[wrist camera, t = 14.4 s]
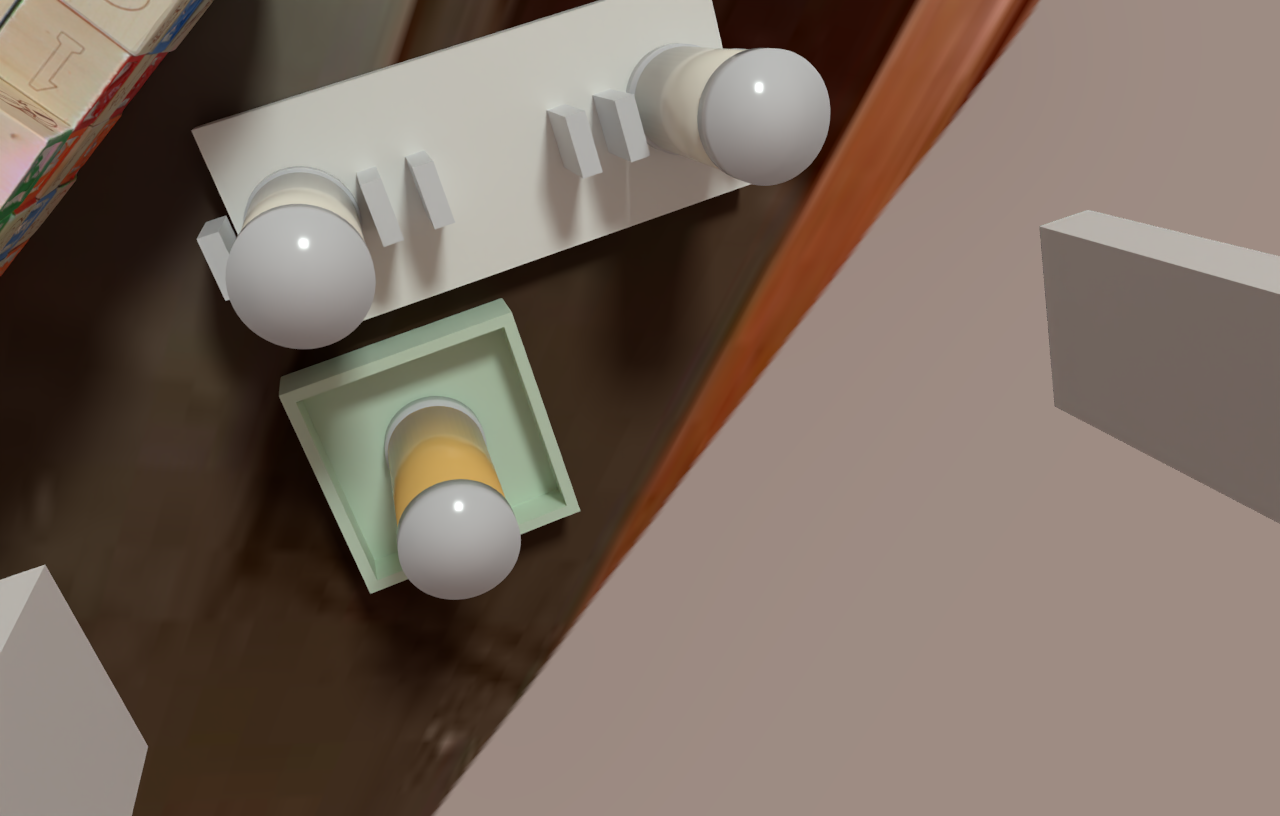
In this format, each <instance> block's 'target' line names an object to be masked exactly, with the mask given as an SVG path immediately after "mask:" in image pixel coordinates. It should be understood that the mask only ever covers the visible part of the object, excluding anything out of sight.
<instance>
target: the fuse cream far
mask: <svg viewBox="0 0 1280 816" xmlns="http://www.w3.org/2000/svg"><path fill="white" fill-rule="evenodd" d="M626 93H630V94H634V96H635V100H636V104H637V108H638V111H639V115H640V119H641V122H642V126H643V130H644V134H645V137H646V141H647V144H648V145H649V146H651V147H653V148H655V149H657V150H660V151H663V152H666V153H669V154H673V155H681V156H684V157H686V158H689V159H692V160H695V161H697V162H700V163H703V164H706V165H709V166H711V167H714V168H717V169H720V170H721V171H723V172H724V173H726V174H727V175H729V176H731V177H733V178H736V179H738V180H741V181H744V182H747V183H750V184H754V185H767V186H768V185H776V184H779V183H783V182H785V181H788V180H790V179H792V178H794V177H795V176H797V175H799V174H800V173H801V172H803V171H804V170H805V169H806V168H807V167H808V166H809V165H810V164H811V163H812V162H813V160H814V159H815V158H816V156H817V155H818V153H819V152H820V150H821V148H822V146H823V144H824V142H825V139H826V136H827V133H828V128H829V123H830V102H829V96H828V92H827V89H826V87H825V84H824V82H823V80H822V78H821V76H820V74H819V73H818V72H817V70H816V69H815V68H814V67H813V66H812V65H811V64H810V63H809V62H808V61H807V60H806V59H804V58H803V57H801V56H799V55H798V54H796V53H793V52H790V51H788V50H783V49H773V48H753V49H748V50H737V49H721V48H705V47H700V46H697V45H693V44H682V43H673V44H666V45H662V46H660V47H657V48H655V49H654V50H652V51H650V52H649V53H647V54H646V55H645V56H644V57H643V58H642V59H641V60H640V61H639V62H638V64H637V65H636V66H635V68H634V69H633V71H632V73H631V75H630V78H629V80H628V84H627V88H626Z"/></svg>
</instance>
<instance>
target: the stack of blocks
mask: <svg viewBox="0 0 1280 816" xmlns="http://www.w3.org/2000/svg"><path fill="white" fill-rule="evenodd" d="M213 1H214V0H0V276H1V275H2V274H3V273H4V271H5V270H6V269H7V268H8V266H9V265H10V264H11V262H12V261H13V260H14V258H15V257H16V256H17V255H18V253H19V252H20V251H21V250H22V248H23V247H24V246H25V244H26V243H27V242H28V241H29V239H30V237H31V236H32V235H33V234H34V233H35V232H36V231H37V230H38V228H39V227H40V226H41V225H42V223H43V222H44V221H45V220H46V218H47V217H48V216H49V215H50V213H51V212H52V211H53V209H54V208H55V207H56V206H57V204H58V203H59V202H60V200H61V199H62V198H63V197H64V195H65V194H66V193H67V191H68V190H69V189H70V188H71V186H72V185H73V184H74V182H75V181H76V179H77V172H78V171H79V169H80V168H81V167H82V166H83V165H84V164H85V163H86V161H87V160H88V159H89V157H90V156H91V155H92V153H93V152H94V150H95V149H96V148H97V147H98V145H99V144H100V143H101V142H102V140H103V139H104V138H105V136H106V135H107V134H108V132H109V131H110V130H111V129H112V127H113V126H114V125H115V124H116V122H117V121H118V120H119V118H120V117H121V115H122V112H123V110H124V108H125V107H126V106H127V105H128V104H129V102H130V101H131V100H132V99H133V97H134V96H135V95H136V94H137V92H138V91H139V90H140V89H141V87H142V86H143V85H144V83H145V82H146V81H147V79H148V78H149V77H150V75H151V74H152V73H153V71H154V70H155V69H156V68H157V66H158V65H159V63H160V62H161V61H162V60H163V59H164V57H165V56H166V55H167V53H168V52H170V51H173V50H175V49H176V48H177V47H178V46H179V44H180V43H181V42H182V41H183V39H184V38H185V37H186V36H187V34H188V33H189V32H190V30H191V29H192V28H193V27H194V25H195V24H196V23H197V21H198V20H199V19H200V18H201V16H202V15H203V14H204V12H205V11H206V10H207V9H208V7H209V6H210V5H211V3H212V2H213Z"/></svg>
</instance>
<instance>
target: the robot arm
mask: <svg viewBox="0 0 1280 816" xmlns="http://www.w3.org/2000/svg"><path fill="white" fill-rule="evenodd" d="M1040 238H1041V249H1042V260H1043V261H1042V262H1043V273H1044V285H1045V297H1046V309H1047V321H1048V333H1049V345H1050V356H1051V368H1052V379H1053V392H1054V403H1055V407H1057V408H1059V409H1061V410H1063V411H1065V412H1067V413H1068V414H1070V415H1072V416H1074V417H1076V418H1078V419H1080V420H1082V421H1084V422H1086V423H1088V424H1090V425H1092V426H1093V427H1096V428H1098V429H1099V430H1101V431H1103V432H1105V433H1107V434H1109V435H1111V436H1113V437H1115V438H1116V439H1118V440H1120V441H1123V442H1124V443H1126V444H1128V445H1130V446H1132V447H1134V448H1136V449H1138V450H1140V451H1141V452H1143V453H1145V454H1147V455H1149V456H1151V457H1153V458H1155V459H1157V460H1159V461H1161V462H1163V463H1165V464H1166V465H1168V466H1170V467H1172V468H1174V469H1176V470H1178V471H1180V472H1182V473H1184V474H1186V475H1187V476H1189V477H1191V478H1193V479H1195V480H1197V481H1199V482H1201V483H1203V484H1205V485H1207V486H1209V487H1210V488H1213V489H1215V490H1216V491H1218V492H1220V493H1222V494H1224V495H1226V496H1228V497H1230V498H1232V499H1233V500H1236V501H1237V502H1239V503H1241V504H1243V505H1245V506H1247V507H1249V508H1251V509H1253V510H1255V511H1257V512H1258V513H1260V514H1262V515H1264V516H1266V517H1268V518H1270V519H1272V520H1274V521H1276V522H1278V523H1280V256H1275V255H1272V254H1267V253H1263V252H1259V251H1255V250H1251V249H1247V248H1243V247H1239V246H1235V245H1231V244H1227V243H1222V242H1218V241H1214V240H1210V239H1206V238H1202V237H1197V236H1194V235H1190V234H1185V233H1181V232H1177V231H1173V230H1169V229H1165V228H1161V227H1157V226H1152V225H1148V224H1144V223H1140V222H1136V221H1132V220H1128V219H1124V218H1120V217H1116V216H1111V215H1107V214H1103V213H1099V212H1095V211H1091V210H1086V211H1083V212H1080V213H1077V214H1074V215H1071V216H1068V217H1065V218H1063V219H1059V220H1057V221H1054V222H1051V223H1048V224H1045V225H1042V226H1040ZM147 748H148V746H147V744H146V742H145V740H144V739H143V737H142V735H141V733H140V732H139V730H138V728H137V726H136V724H135V723H134V721H133V719H132V717H131V716H130V714H129V712H128V710H127V709H126V707H125V705H124V703H123V701H122V700H121V698H120V696H119V694H118V693H117V691H116V689H115V687H114V686H113V684H112V682H111V680H110V678H109V677H108V675H107V673H106V671H105V670H104V668H103V666H102V664H101V663H100V661H99V659H98V657H97V655H96V654H95V652H94V650H93V648H92V647H91V645H90V643H89V641H88V640H87V638H86V636H85V634H84V632H83V631H82V629H81V627H80V625H79V624H78V622H77V620H76V618H75V617H74V615H73V613H72V611H71V610H70V608H69V606H68V604H67V602H66V601H65V599H64V597H63V595H62V594H61V592H60V590H59V588H58V587H57V585H56V583H55V581H54V579H53V578H52V576H51V574H50V572H49V571H48V569H47V567H46V565H43V566H40V567H37V568H34V569H31V570H28V571H25V572H22V573H19V574H16V575H13V576H10V577H7V578H4V579H2V580H0V816H132V812H133V808H134V803H135V799H136V795H137V791H138V786H139V782H140V778H141V774H142V769H143V765H144V761H145V757H146V752H147Z"/></svg>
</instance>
